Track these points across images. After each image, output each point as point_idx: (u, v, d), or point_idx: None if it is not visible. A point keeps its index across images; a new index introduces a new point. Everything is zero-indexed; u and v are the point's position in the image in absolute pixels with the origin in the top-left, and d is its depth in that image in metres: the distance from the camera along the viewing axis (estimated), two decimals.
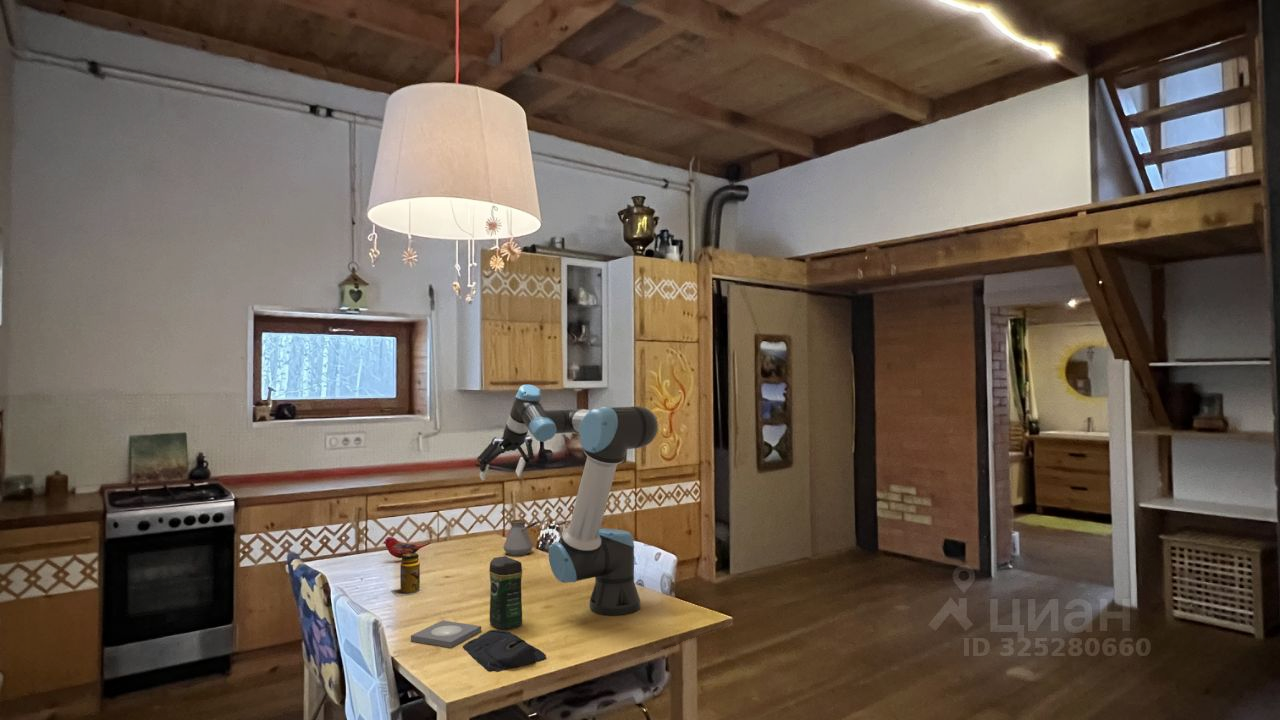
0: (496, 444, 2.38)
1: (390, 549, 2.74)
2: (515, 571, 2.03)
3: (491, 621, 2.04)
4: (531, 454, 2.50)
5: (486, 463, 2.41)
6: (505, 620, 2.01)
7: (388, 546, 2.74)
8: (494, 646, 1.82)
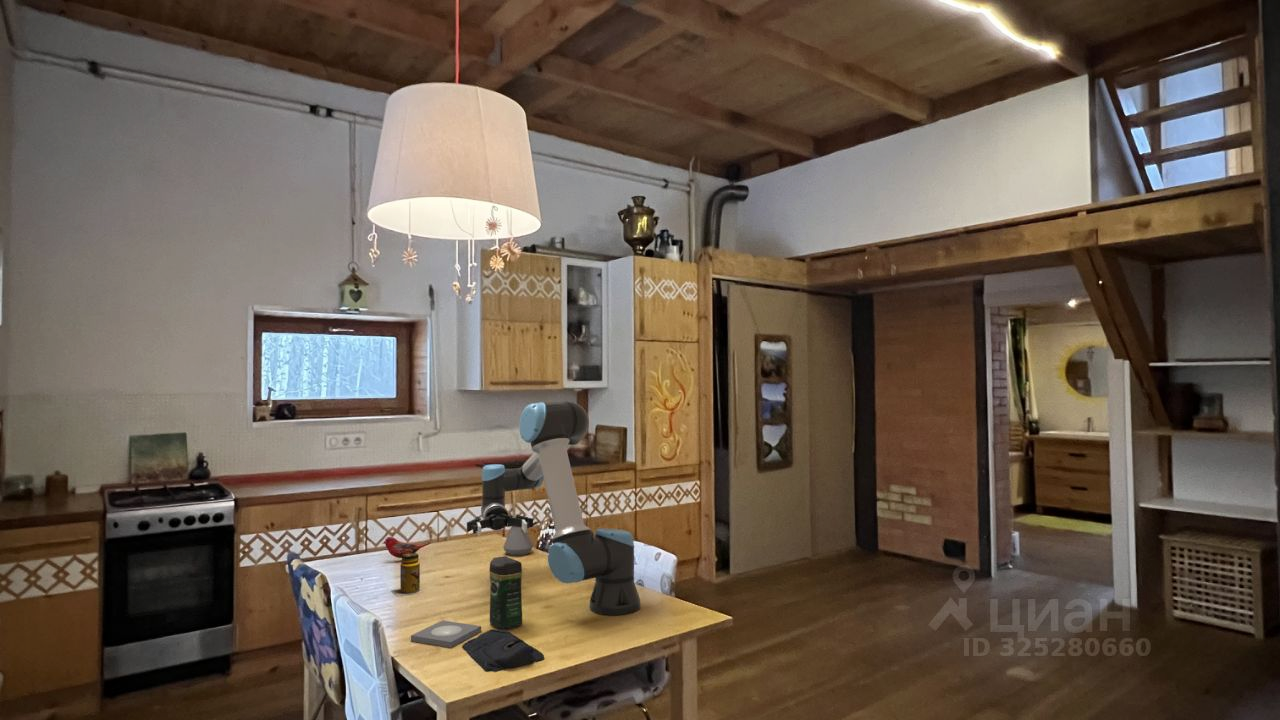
0: (477, 517, 2.32)
1: (390, 549, 2.74)
2: (515, 571, 2.03)
3: (491, 621, 2.04)
4: None
5: (474, 522, 2.24)
6: (505, 620, 2.01)
7: (388, 546, 2.74)
8: (492, 645, 1.82)
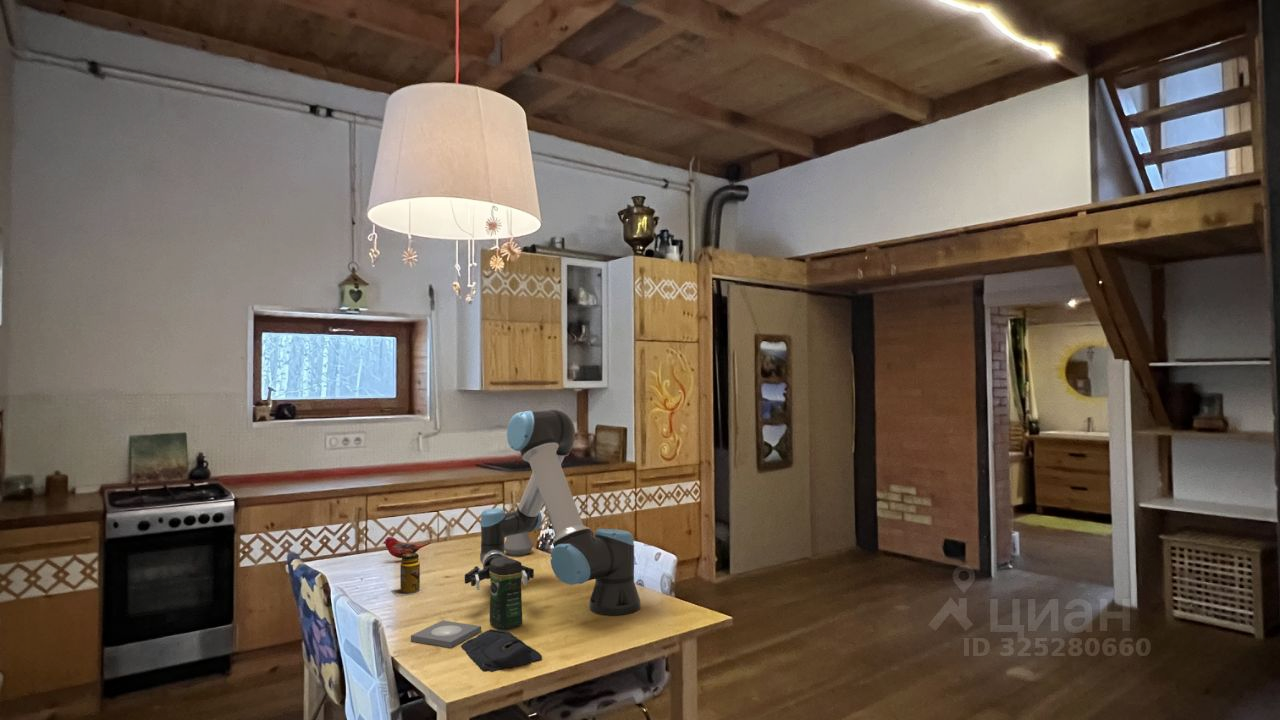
0: (475, 567, 2.23)
1: (390, 549, 2.74)
2: (515, 571, 2.03)
3: (491, 621, 2.04)
4: (527, 568, 2.22)
5: (473, 574, 2.15)
6: (505, 620, 2.01)
7: (388, 546, 2.74)
8: (490, 646, 1.82)
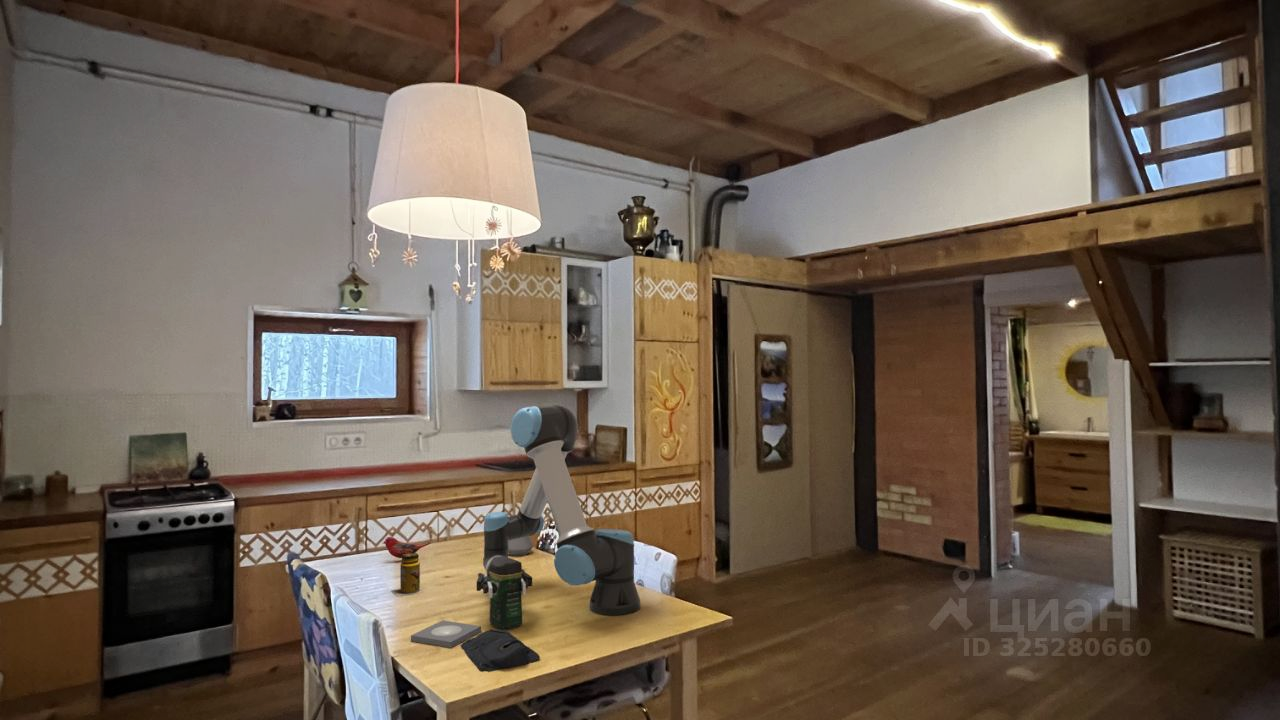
0: (480, 574, 2.15)
1: (390, 549, 2.74)
2: (515, 571, 2.03)
3: (491, 621, 2.04)
4: (527, 575, 2.13)
5: (485, 581, 2.07)
6: (505, 620, 2.01)
7: (388, 546, 2.74)
8: (489, 645, 1.82)
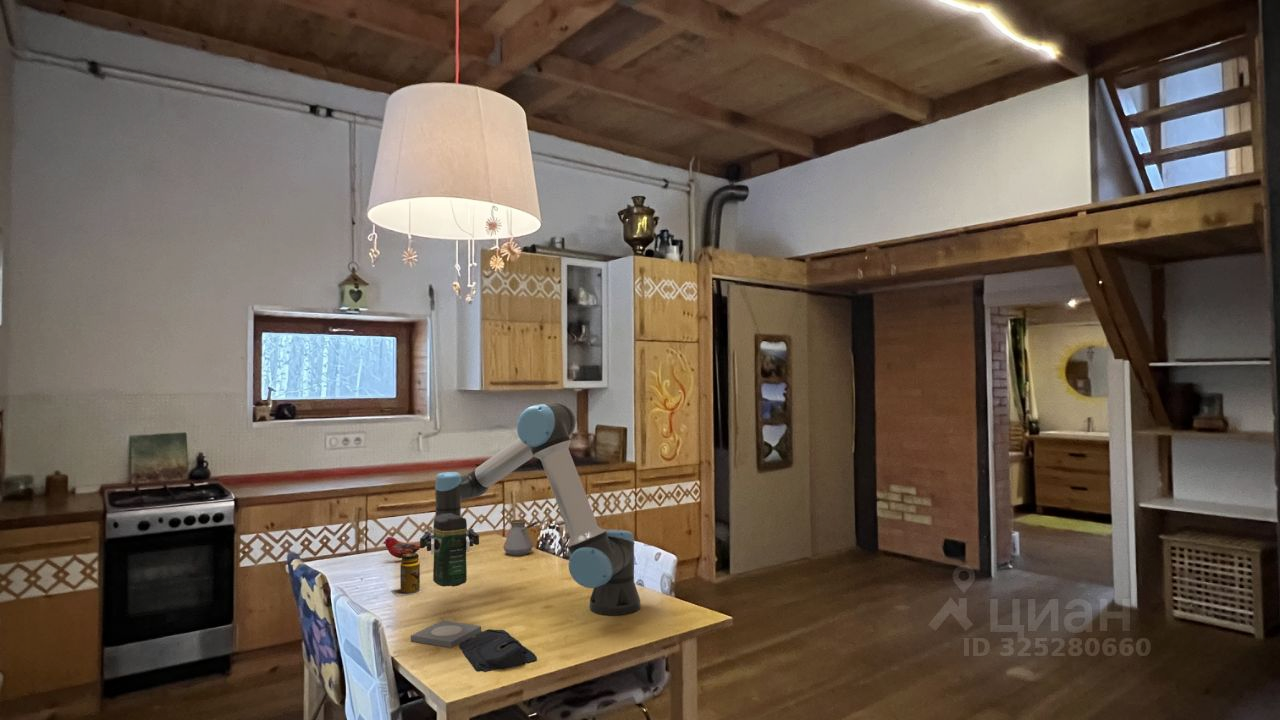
0: (426, 532, 2.07)
1: (390, 549, 2.74)
2: (458, 527, 1.95)
3: (434, 579, 1.97)
4: (474, 534, 2.05)
5: (428, 538, 1.99)
6: (447, 577, 1.93)
7: (388, 546, 2.74)
8: (486, 645, 1.82)
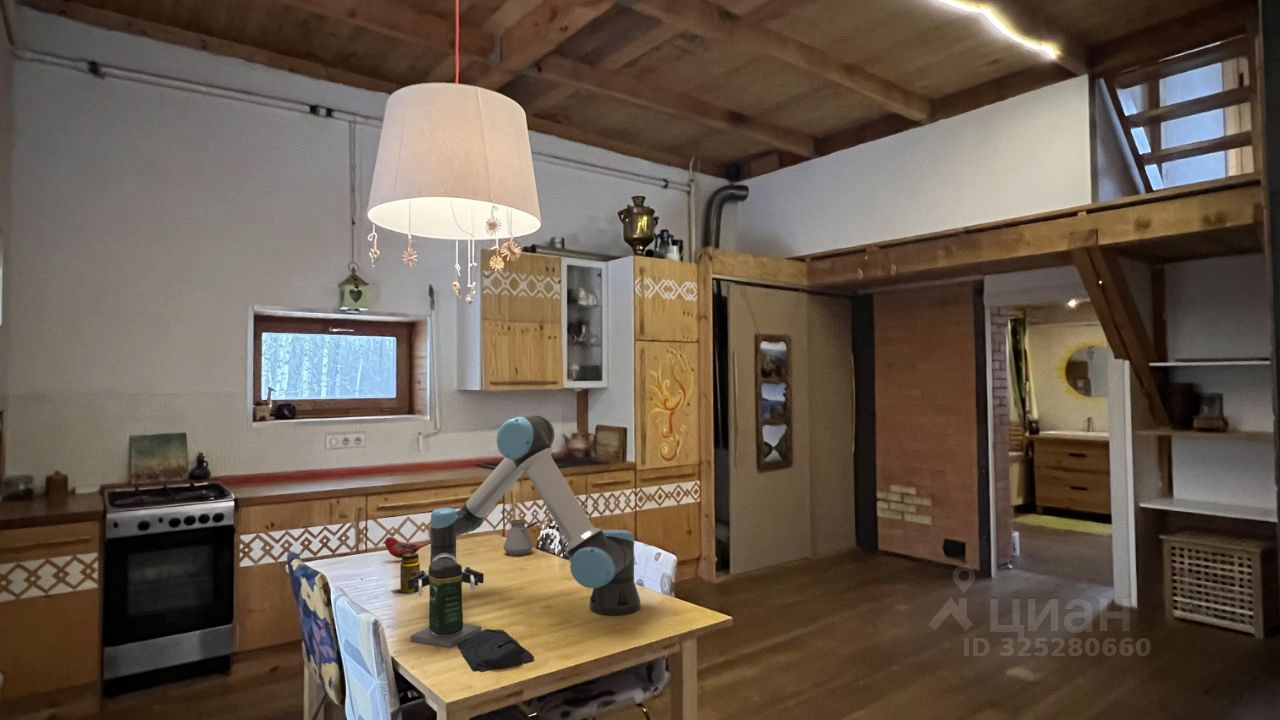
0: (421, 571, 2.06)
1: (390, 549, 2.74)
2: (454, 575, 1.93)
3: (430, 627, 1.95)
4: (476, 572, 2.05)
5: (416, 579, 1.99)
6: (443, 626, 1.92)
7: (388, 546, 2.74)
8: (484, 645, 1.83)
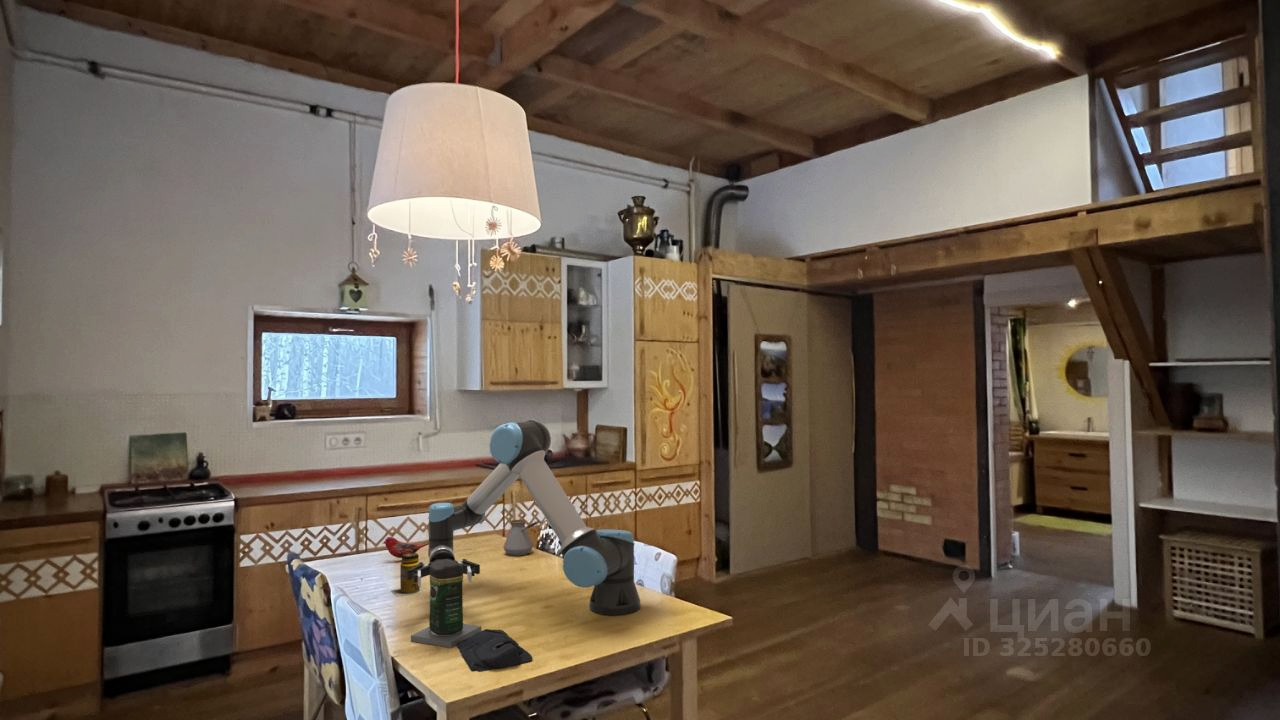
0: (420, 563, 2.15)
1: (390, 549, 2.74)
2: (455, 575, 1.93)
3: (430, 627, 1.95)
4: (473, 563, 2.14)
5: (415, 570, 2.08)
6: (443, 626, 1.92)
7: (388, 546, 2.74)
8: (482, 645, 1.83)
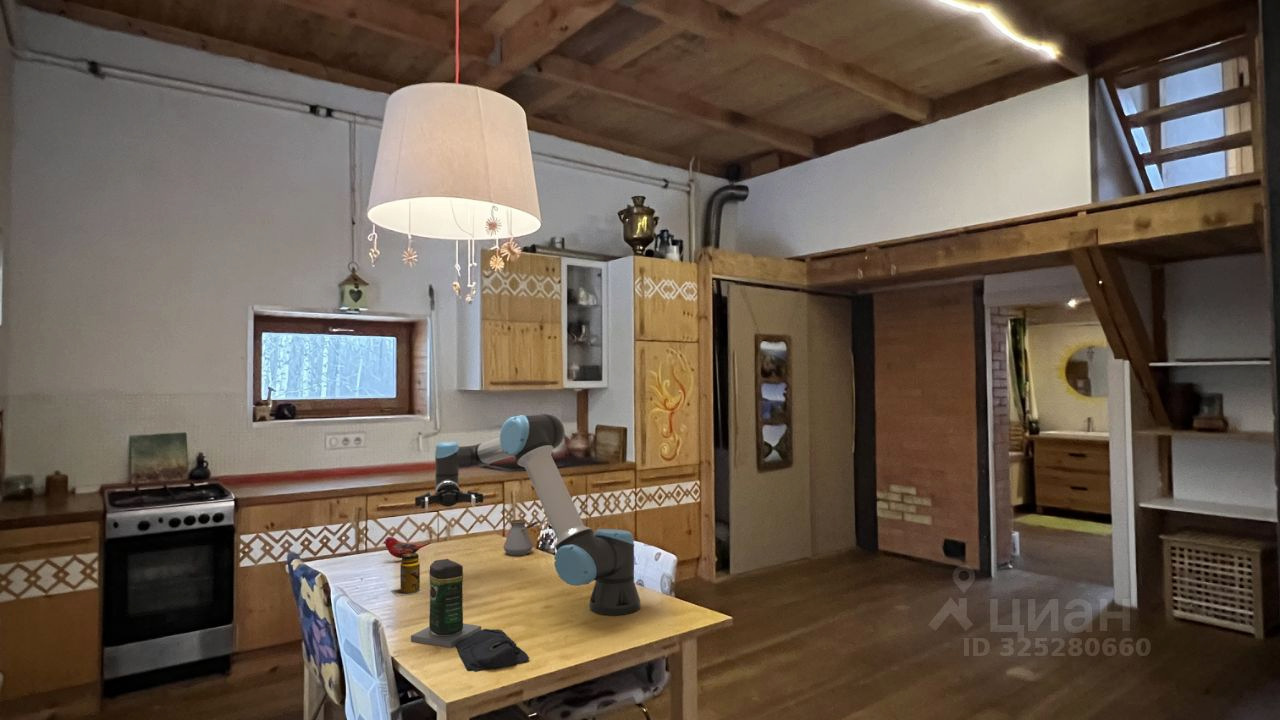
0: (427, 493, 2.30)
1: (390, 549, 2.74)
2: (454, 575, 1.93)
3: (430, 627, 1.95)
4: None
5: (423, 497, 2.22)
6: (443, 626, 1.92)
7: (388, 546, 2.74)
8: (480, 645, 1.83)
